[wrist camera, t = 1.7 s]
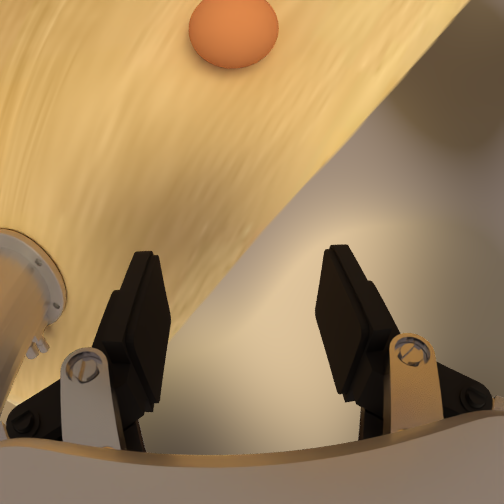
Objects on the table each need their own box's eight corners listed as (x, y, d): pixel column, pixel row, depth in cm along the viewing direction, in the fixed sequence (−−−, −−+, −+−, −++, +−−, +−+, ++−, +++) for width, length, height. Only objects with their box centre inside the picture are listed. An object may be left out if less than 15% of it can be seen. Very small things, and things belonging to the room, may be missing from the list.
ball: (272, 68, 20) (284, 69, 16) (194, 70, 20) (183, 71, 15) (272, -1, 17) (285, -19, 13) (193, 0, 17) (183, -18, 12)
